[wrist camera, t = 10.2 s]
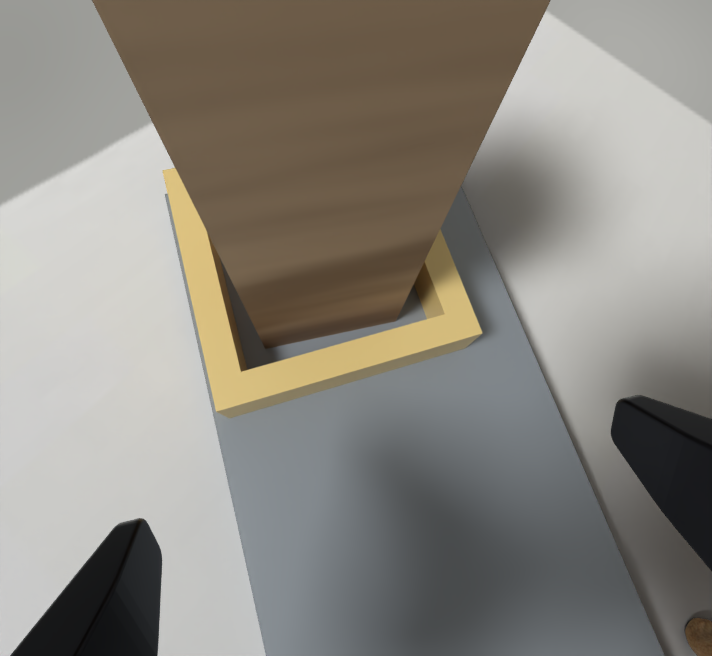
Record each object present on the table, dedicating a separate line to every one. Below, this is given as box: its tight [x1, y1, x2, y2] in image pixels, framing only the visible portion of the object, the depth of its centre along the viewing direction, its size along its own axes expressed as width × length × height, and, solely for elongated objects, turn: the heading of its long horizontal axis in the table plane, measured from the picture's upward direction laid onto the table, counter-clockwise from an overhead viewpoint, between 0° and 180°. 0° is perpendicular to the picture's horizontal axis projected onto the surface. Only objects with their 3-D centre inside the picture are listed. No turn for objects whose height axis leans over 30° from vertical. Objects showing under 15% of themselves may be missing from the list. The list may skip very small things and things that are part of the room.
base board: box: [163, 168, 665, 656], centre depth 16 cm, size 22×12×3 cm, turn 18°
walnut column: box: [92, 0, 550, 349], centre depth 11 cm, size 5×5×13 cm
